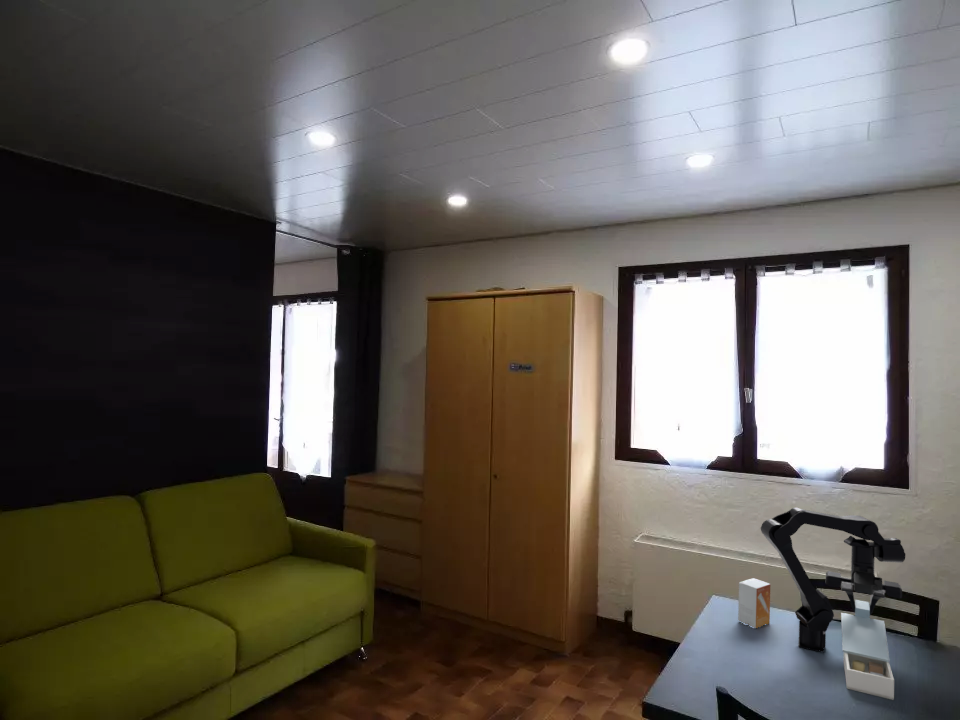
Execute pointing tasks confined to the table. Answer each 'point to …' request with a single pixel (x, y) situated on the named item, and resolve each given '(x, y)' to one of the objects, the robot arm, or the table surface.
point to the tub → (869, 676)
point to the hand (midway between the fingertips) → (862, 613)
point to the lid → (864, 634)
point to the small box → (754, 602)
